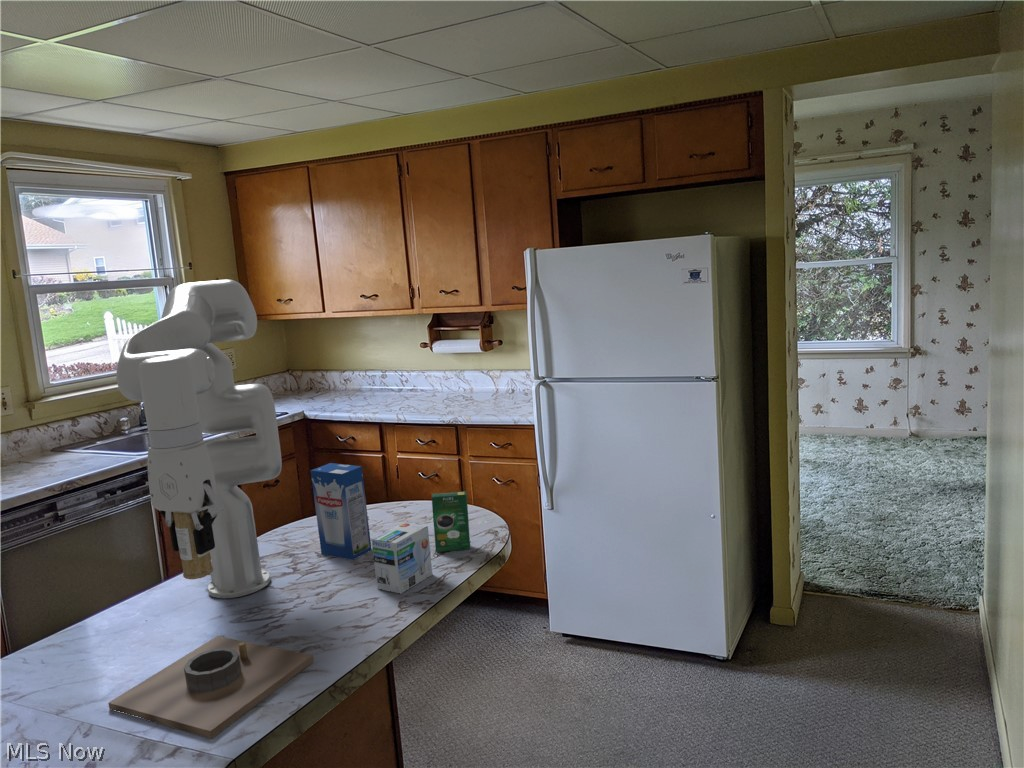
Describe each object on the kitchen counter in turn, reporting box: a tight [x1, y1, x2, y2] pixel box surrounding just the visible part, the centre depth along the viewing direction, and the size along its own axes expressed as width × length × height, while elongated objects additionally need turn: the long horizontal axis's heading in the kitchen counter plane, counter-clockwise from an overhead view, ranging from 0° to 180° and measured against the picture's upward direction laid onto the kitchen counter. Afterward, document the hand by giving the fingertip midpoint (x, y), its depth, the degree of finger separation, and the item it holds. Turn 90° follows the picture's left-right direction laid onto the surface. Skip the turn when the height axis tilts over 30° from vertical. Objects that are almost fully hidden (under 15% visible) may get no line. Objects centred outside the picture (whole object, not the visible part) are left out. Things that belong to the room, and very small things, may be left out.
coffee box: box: [431, 490, 471, 553], centre depth 175 cm, size 8×3×13 cm, turn 94°
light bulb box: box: [370, 521, 433, 595], centre depth 159 cm, size 11×7×11 cm, turn 148°
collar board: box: [108, 635, 314, 739], centre depth 126 cm, size 22×22×4 cm
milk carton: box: [310, 462, 373, 561], centre depth 178 cm, size 10×6×20 cm, turn 58°
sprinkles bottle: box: [173, 511, 213, 580], centre depth 122 cm, size 5×5×13 cm
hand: (194, 548), depth 122 cm, fingers closed on sprinkles bottle, 4 cm apart
